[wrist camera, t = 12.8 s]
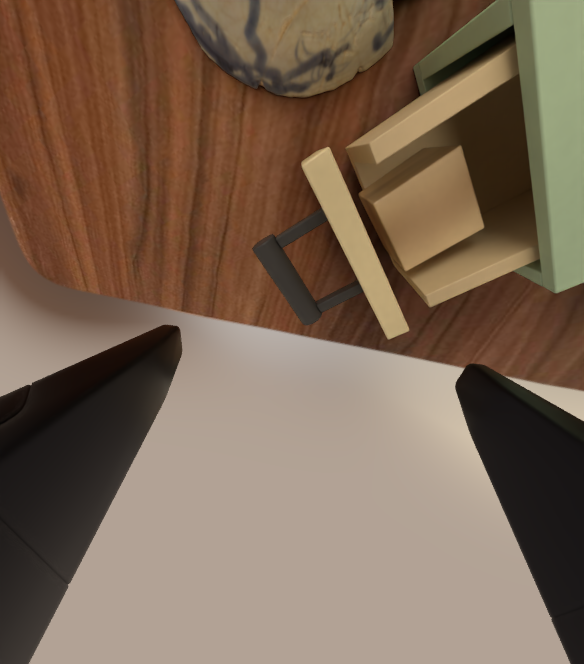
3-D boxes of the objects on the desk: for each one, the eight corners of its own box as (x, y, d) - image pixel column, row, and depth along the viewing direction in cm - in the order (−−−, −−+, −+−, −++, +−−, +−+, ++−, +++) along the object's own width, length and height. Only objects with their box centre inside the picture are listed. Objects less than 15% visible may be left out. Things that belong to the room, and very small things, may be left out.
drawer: (314, 313, 21) (319, 369, 16) (244, 202, 17) (216, 225, 11) (536, 201, 17) (658, 225, 11) (515, 9, 12) (698, -116, 7)
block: (447, 213, 16) (485, 227, 13) (385, 250, 17) (405, 272, 14) (424, 146, 14) (462, 144, 11) (357, 193, 16) (372, 203, 12)
